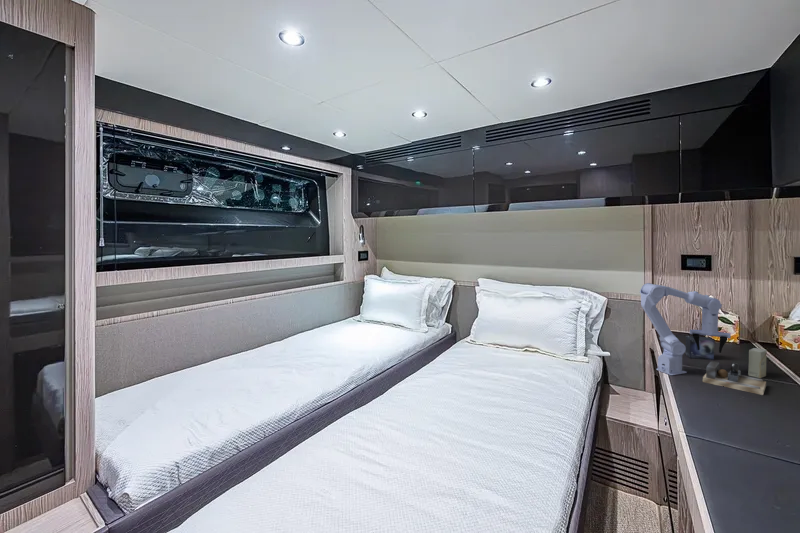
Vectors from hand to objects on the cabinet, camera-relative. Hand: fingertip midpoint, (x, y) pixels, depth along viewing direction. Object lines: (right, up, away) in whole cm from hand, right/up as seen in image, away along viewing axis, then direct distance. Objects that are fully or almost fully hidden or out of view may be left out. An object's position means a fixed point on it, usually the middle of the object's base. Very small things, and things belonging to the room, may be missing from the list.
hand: (709, 350), depth 169 cm
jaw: (0, -9, -13) cm, 16 cm away
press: (0, -12, -13) cm, 17 cm away
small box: (+12, -9, +20) cm, 25 cm away
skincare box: (+17, -10, -5) cm, 21 cm away
